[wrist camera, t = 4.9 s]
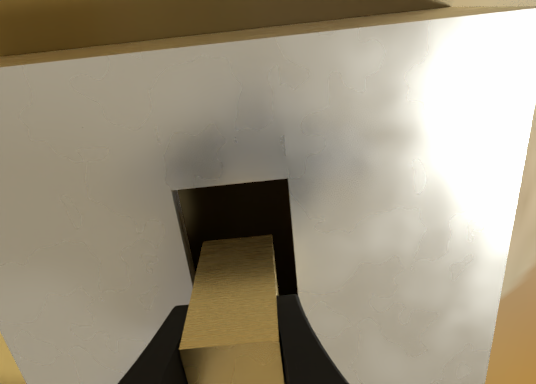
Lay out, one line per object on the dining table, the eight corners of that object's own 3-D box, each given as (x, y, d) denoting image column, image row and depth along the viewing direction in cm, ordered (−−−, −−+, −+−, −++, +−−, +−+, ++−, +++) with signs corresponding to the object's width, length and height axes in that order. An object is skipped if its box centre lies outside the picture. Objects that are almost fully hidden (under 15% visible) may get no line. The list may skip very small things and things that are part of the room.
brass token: (283, 337, 17) (293, 463, 12) (223, 343, 17) (211, 471, 12) (271, 234, 14) (278, 340, 10) (202, 241, 14) (179, 349, 10)
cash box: (427, 297, 24) (483, 391, 18) (100, 329, 25) (50, 431, 19) (452, 6, 17) (551, 6, 12) (1, 56, 18) (-126, 81, 12)
